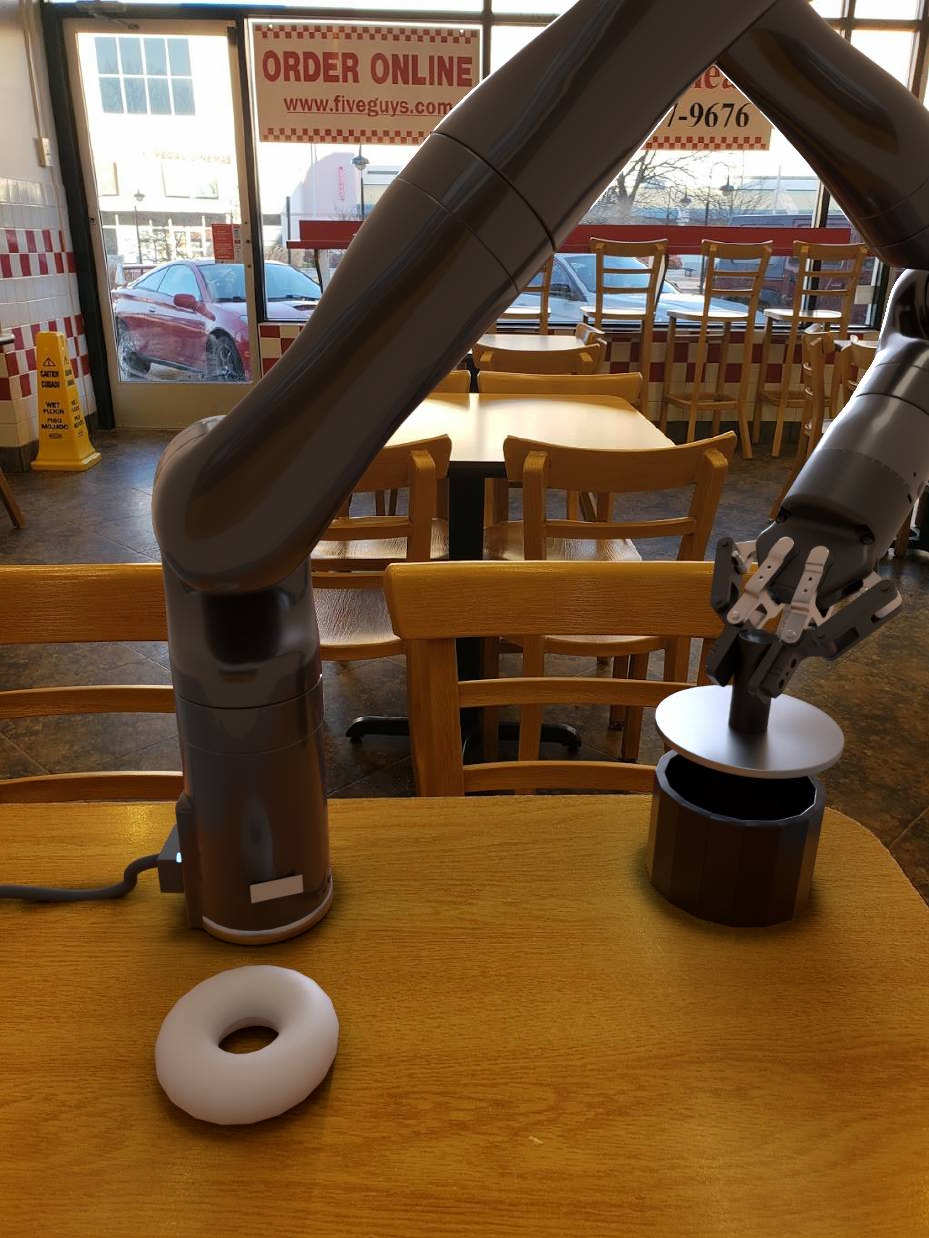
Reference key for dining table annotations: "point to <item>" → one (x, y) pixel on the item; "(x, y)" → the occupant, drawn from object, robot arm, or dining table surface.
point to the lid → (749, 724)
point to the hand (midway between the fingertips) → (735, 687)
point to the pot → (733, 842)
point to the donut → (255, 1079)
